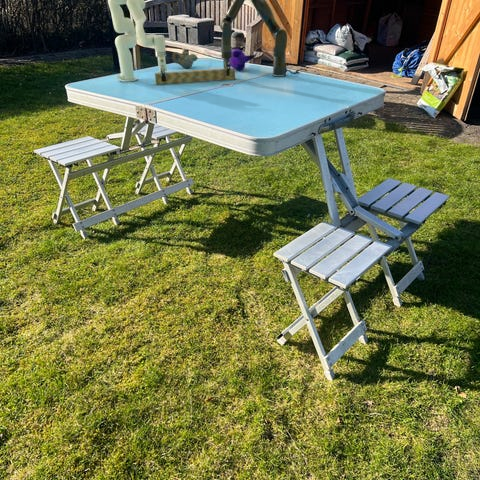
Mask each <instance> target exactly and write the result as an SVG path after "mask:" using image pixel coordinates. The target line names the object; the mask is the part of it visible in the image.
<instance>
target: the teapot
mask: <svg viewBox="0 0 480 480" xmlns="http://www.w3.org/2000/svg"><path fill="white" fill-rule="evenodd" d="M177 57H178V59H177ZM197 60H198V56H197V55H196V54H195V53H190V54H189V52H188V51H187V49H186V48H184V49H183V51H182V53H180V52H177V51H174V52H173V53H172V61H173V63H175V64H177V65H179V66H180V67H182V68H183V69H190V68H191V67H193V65H194V62H196V61H197Z"/></svg>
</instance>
